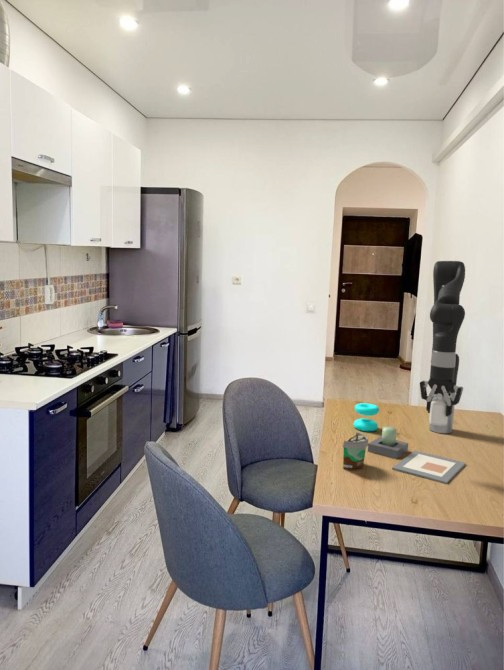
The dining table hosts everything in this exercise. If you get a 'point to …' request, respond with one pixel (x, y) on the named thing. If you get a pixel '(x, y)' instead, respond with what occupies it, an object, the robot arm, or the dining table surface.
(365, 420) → the donuts
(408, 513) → the dining table surface
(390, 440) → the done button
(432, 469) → the sketch board
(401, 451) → the button housing
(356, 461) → the food container
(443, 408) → the eye dropper bottle
